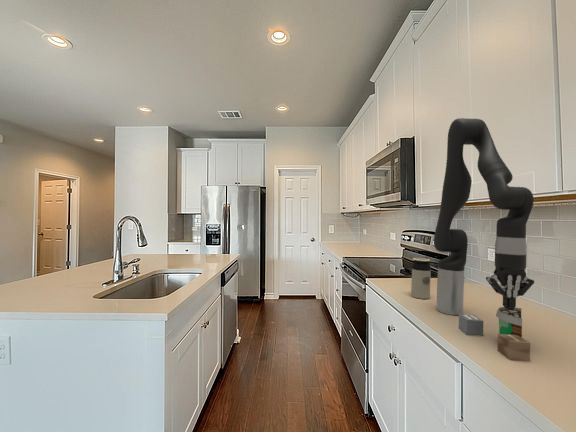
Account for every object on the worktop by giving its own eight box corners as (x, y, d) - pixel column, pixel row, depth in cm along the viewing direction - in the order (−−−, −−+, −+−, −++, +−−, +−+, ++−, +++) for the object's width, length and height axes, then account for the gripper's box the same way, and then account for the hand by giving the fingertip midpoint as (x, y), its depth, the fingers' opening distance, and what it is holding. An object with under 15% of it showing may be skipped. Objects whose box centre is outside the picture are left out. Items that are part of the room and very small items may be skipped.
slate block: (458, 329, 95) (459, 314, 95) (473, 329, 95) (474, 314, 94) (466, 335, 90) (467, 319, 90) (482, 336, 90) (483, 320, 90)
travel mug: (408, 294, 135) (409, 257, 135) (425, 294, 135) (426, 257, 135) (415, 299, 127) (416, 260, 127) (433, 299, 127) (434, 260, 127)
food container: (496, 333, 91) (496, 303, 91) (520, 339, 88) (521, 308, 87) (494, 347, 82) (495, 313, 82) (521, 354, 78) (522, 319, 78)
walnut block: (497, 351, 80) (498, 333, 80) (515, 352, 79) (516, 334, 79) (509, 360, 75) (510, 341, 75) (529, 361, 74) (530, 342, 74)
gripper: (523, 251, 88) (522, 306, 88) (479, 249, 89) (478, 304, 89) (543, 254, 80) (542, 314, 80) (495, 253, 81) (494, 312, 81)
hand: (508, 308), depth 84 cm, fingers closed
